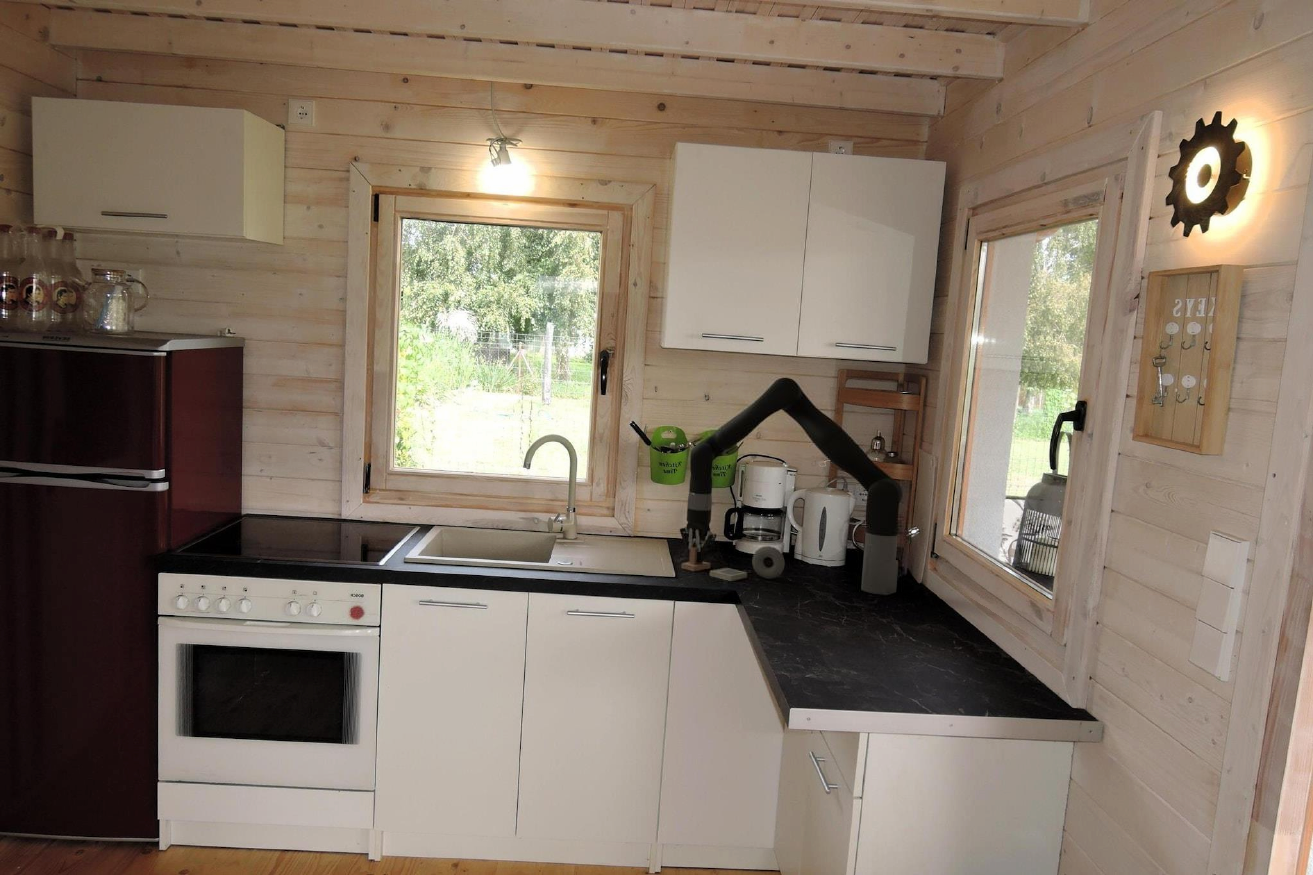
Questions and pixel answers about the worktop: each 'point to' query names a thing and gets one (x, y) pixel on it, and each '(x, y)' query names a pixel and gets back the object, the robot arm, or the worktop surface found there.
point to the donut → (761, 568)
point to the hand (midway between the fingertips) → (696, 561)
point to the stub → (694, 562)
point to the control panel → (728, 574)
